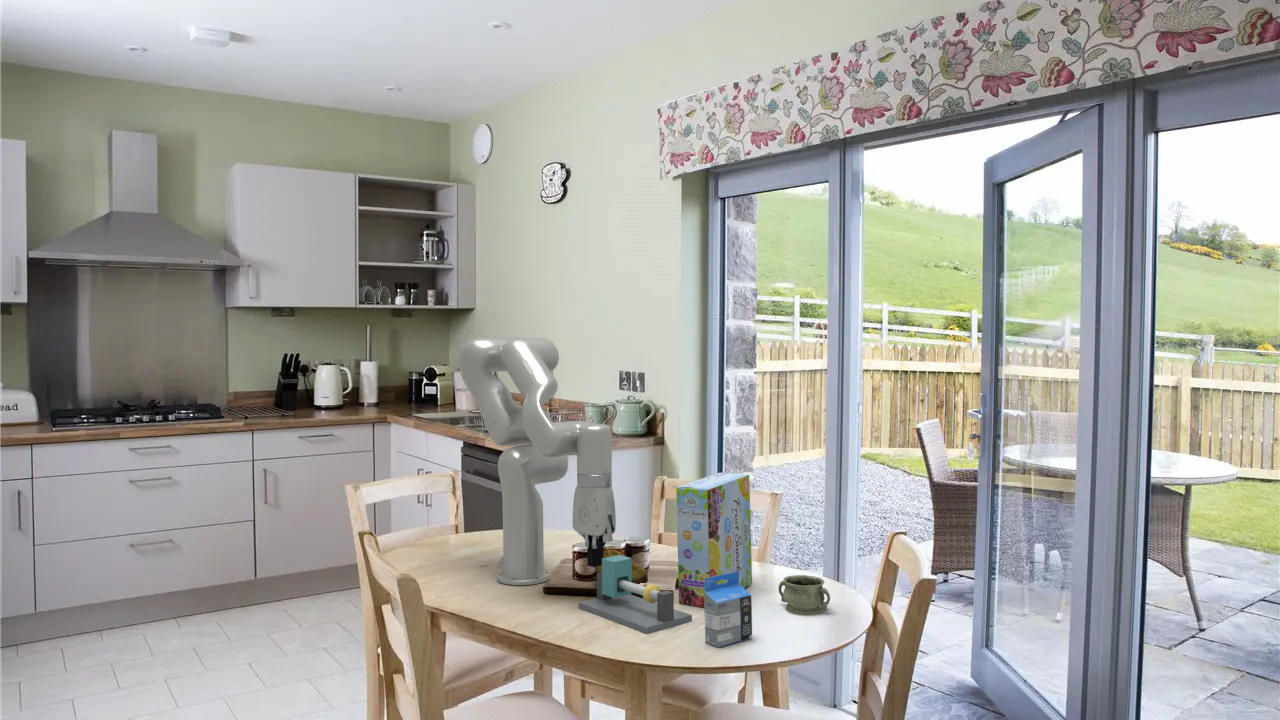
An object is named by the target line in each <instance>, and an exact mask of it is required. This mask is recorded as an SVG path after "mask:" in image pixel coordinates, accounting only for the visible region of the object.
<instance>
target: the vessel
mask: <svg viewBox="0 0 1280 720" xmlns="http://www.w3.org/2000/svg"><path fill="white" fill-rule="evenodd" d="M824 584H825V580H824V579H823V578H822V577H818V576H814V575H806V574H793V575H789V576H788V575H787V576H785V577H784V578H783V580H781V581H780V582H779V584H778V593H779V595H780V596H781V602H783V603H787V605H786V606H785V610H786V611H787V612H788V613H790V614H794V615H800V616H811V615H817V614H820V613H821V612H822V611H823V612H824V611H827V610H828V608H827V607H828V605H829V604H830V601H831V595H830V592H829V591H828V588H826V587H823V585H824ZM783 586H784V589H783V591H782V587H783ZM825 596H826V601H825Z"/></svg>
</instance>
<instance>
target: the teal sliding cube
mask: <svg viewBox="0 0 1280 720" xmlns="http://www.w3.org/2000/svg"><path fill="white" fill-rule="evenodd" d="M625 556H626V555H625ZM625 556H622V555H616V556H612V557H607V558H602V594H604V595H607V596H610V597H613V598H616V597H620V596H624V595H628V594H631V595H633V594H632V593H633V592H630V591H627V590H624V589H621V588H618V587H617V578H619V579H622V580H625V581H628V582H632V561H633V559H632V557H628V556H627V557H625Z"/></svg>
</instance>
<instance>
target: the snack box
mask: <svg viewBox="0 0 1280 720" xmlns="http://www.w3.org/2000/svg"><path fill="white" fill-rule="evenodd" d="M750 487H751V486H750V474H749V473H747V474H746V473H734V472H733V473H731V472H718V473H715V474H712V475H708V476H706V477H703V478H699V479H697V480H694V481H691V482H688V483H685V484H682V485H680V486H677V487H676V488H675V489H676V492H675V493H676V498H675V499H676V530H677V531H676V532H677V533H676V534H677V538H676V539H677V568H678V569H677V570H678V571H677V573H678V574H677V575H678V577H677V578H678V580H677V581H678V604H680V605H686V606H690V607H691V606H692V607H697V608H704V581H705V578H708V577H713V576H717V575H722V574H727V573H732V572H736V571H740V572H739V584H740V585H741V586H742V587H743V588H744V589H745V588H747V587H748V586H750V585H752V584H753V568H752V567H753V565H752V562H753V561H752V557H753V556H752V532H751V530H752V529H751V527H752V526H751V525H752V523H751V495H750V494H751V488H750ZM727 581H728V580H723V579H721V581H718V582H716V585H717V584H722V583H726V582H727Z"/></svg>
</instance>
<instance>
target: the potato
mask: <svg viewBox="0 0 1280 720" xmlns="http://www.w3.org/2000/svg"><path fill="white" fill-rule="evenodd" d="M603 550H604V551H603V558H607V557H612V556H616V555H622V556H625V557H628V556H626V555H625V554H624V553H622V552H621V551H618V550H617V549H616V550H615V549H611V550H609V549H603ZM593 568H594V570H595V572H596V574H597V573H601V572H602V565H601V566H596V567H593ZM648 580H649V575H648V572H647V571H646V569H645V568H644V567H643V566H641V565H640V564H639V563H637V562H635V561H634V560H632V583H635V584H640V583H646V582H647V583H648V582H649V581H648ZM647 583H646V584H647Z"/></svg>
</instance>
